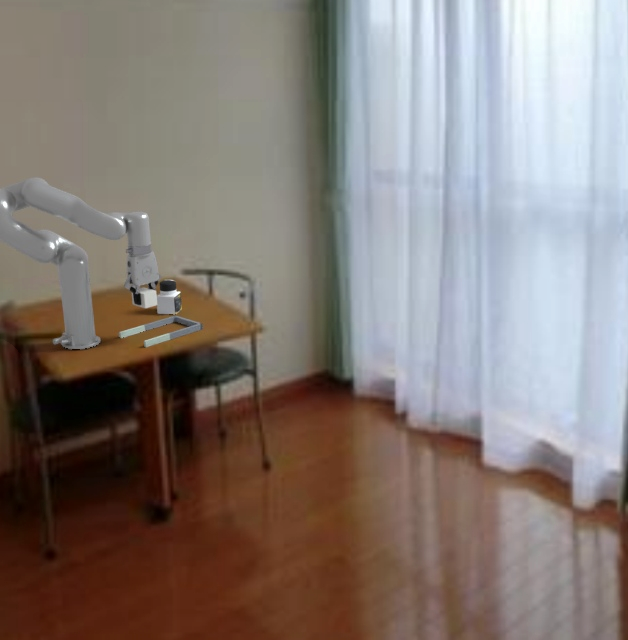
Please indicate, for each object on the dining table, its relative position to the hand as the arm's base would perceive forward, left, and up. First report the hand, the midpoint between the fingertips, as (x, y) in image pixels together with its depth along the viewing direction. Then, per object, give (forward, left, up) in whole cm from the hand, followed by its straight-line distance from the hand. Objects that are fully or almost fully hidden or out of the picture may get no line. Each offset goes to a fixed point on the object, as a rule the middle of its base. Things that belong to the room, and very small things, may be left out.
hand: (144, 301), depth 284 cm
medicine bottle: (+24, +18, -13) cm, 33 cm away
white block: (0, 0, -1) cm, 1 cm away
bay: (+7, 0, -13) cm, 15 cm away
